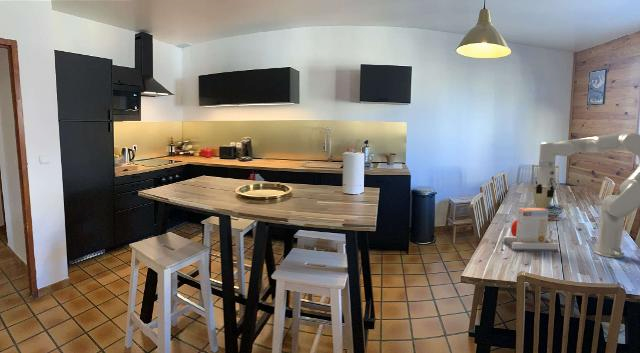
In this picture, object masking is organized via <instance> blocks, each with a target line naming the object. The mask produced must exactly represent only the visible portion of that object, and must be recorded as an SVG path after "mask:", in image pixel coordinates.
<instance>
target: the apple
mask: <svg viewBox="0 0 640 353" xmlns="http://www.w3.org/2000/svg"><path fill="white" fill-rule="evenodd" d="M516 230H517V219H516V220H514V221H513V222H512V224H511V227H510V232H511V235H512V236H513V237H516Z"/></svg>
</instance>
